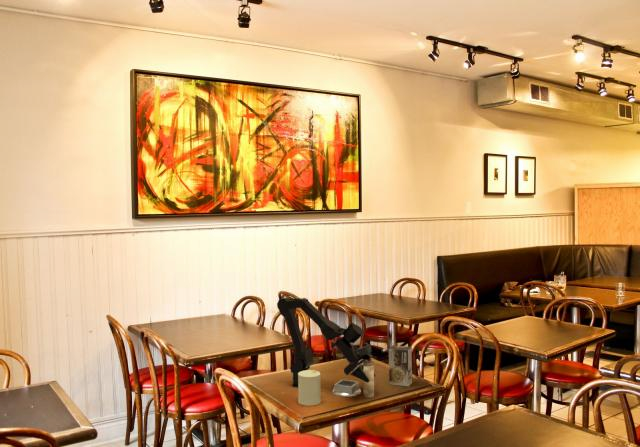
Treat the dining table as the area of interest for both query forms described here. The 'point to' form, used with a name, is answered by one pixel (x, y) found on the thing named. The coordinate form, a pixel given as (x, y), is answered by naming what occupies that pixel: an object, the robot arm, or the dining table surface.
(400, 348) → the coffee box
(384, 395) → the dining table surface
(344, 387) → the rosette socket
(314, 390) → the can
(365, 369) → the cream tall cylinder
